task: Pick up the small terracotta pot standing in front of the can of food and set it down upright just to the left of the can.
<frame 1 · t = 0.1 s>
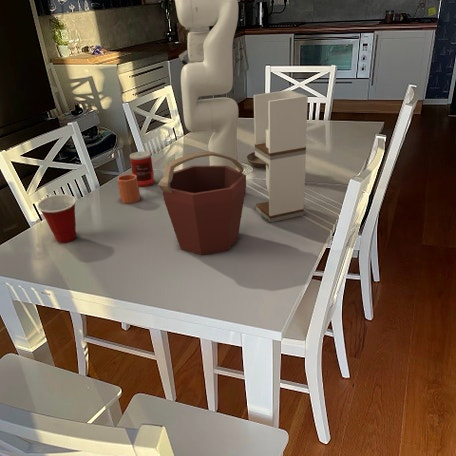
hand: (202, 77, 188), 31 cm above the table, tool pointing down, fingers open, 9 cm apart
canned food: (144, 183, 180), on the table
plant saucer: (268, 163, 192), on the table
tall white stacked tower: (279, 212, 151), on the table
bucket: (206, 240, 138), on the table
plastic cup: (66, 239, 143), on the table
pot: (130, 199, 167), on the table
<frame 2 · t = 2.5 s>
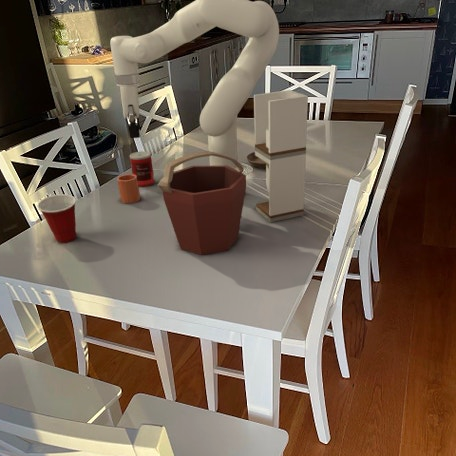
hand: (135, 133, 162), 21 cm above the table, tool pointing down, fingers open, 9 cm apart
nothing on the table moved.
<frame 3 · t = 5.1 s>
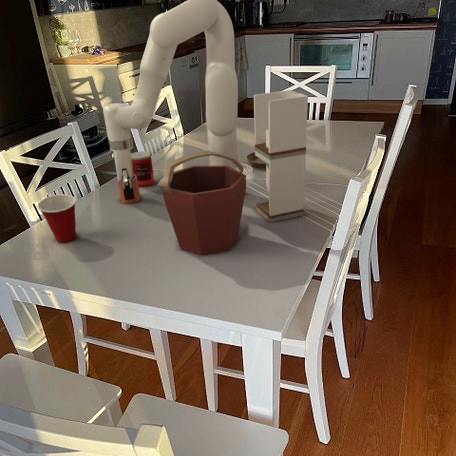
hand: (129, 194, 166), 2 cm above the table, tool pointing down, fingers closed on pot, 6 cm apart
pot: (130, 199, 167), on the table, touching gripper
everything else where it was.
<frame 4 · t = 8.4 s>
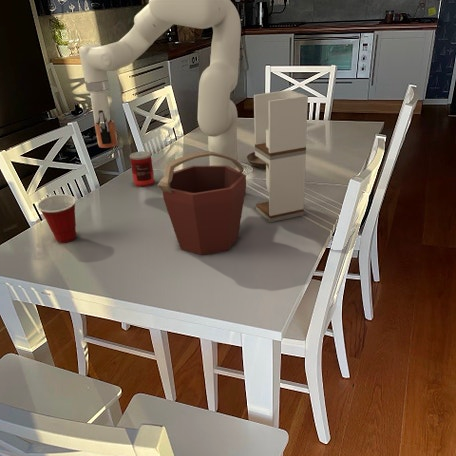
hand: (107, 140, 168), 18 cm above the table, tool pointing down, fingers closed on pot, 6 cm apart
pot: (108, 145, 169), point 16 cm above the table, touching gripper
everything else where it was.
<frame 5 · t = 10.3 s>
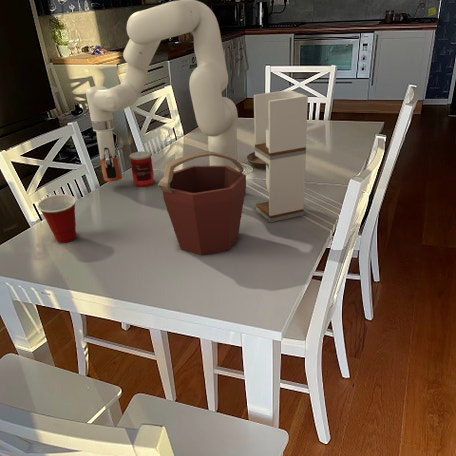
hand: (112, 173, 176), 5 cm above the table, tool pointing down, fingers closed on pot, 6 cm apart
pot: (113, 178, 177), point 3 cm above the table, touching gripper
everything else where it was.
when the fingers open (2 cm above the table, at t = 11.8 s): pot stays where it is, on the table.
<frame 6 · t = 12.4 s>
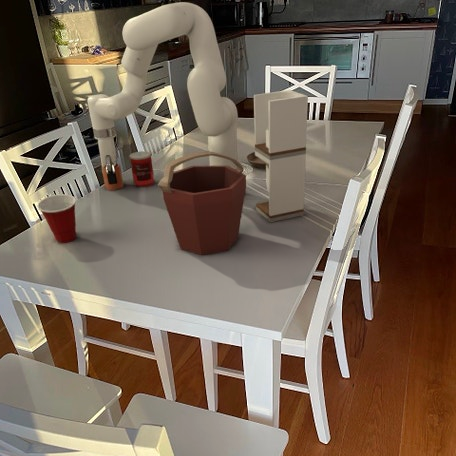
hand: (113, 179, 177), 3 cm above the table, tool pointing down, fingers open, 9 cm apart
pot: (114, 186, 179), on the table
everything else where it was.
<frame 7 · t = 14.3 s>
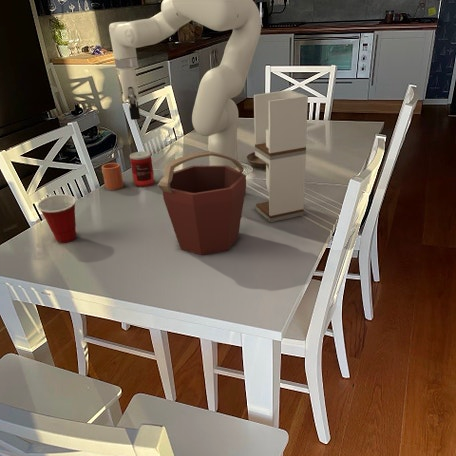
hand: (135, 116, 170), 24 cm above the table, tool pointing down, fingers open, 9 cm apart
nothing on the table moved.
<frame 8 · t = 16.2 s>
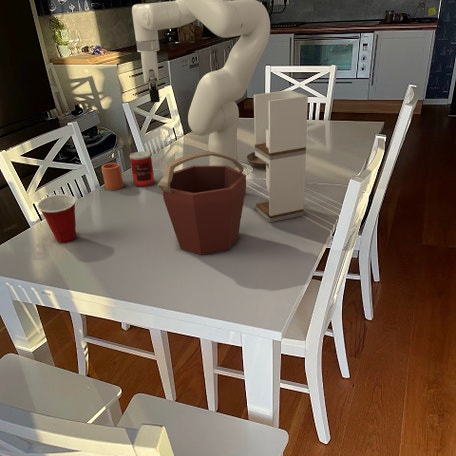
hand: (154, 99, 171), 28 cm above the table, tool pointing down, fingers open, 9 cm apart
nothing on the table moved.
at the end: pot inside the target area on the table beside the canned food (0.4 cm from its centre), on the table; pot tilted 0°; canned food moved 0.2 cm from its start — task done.
